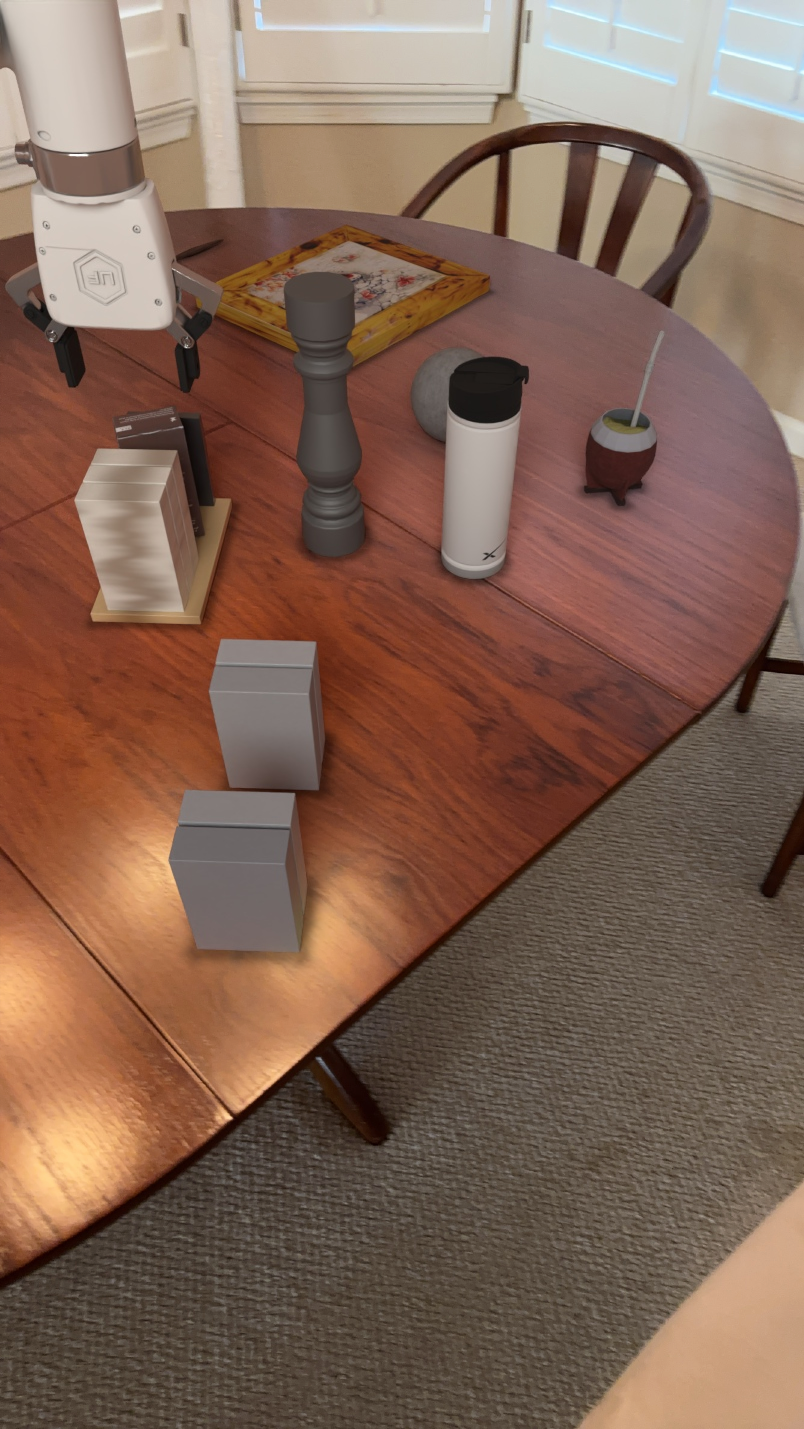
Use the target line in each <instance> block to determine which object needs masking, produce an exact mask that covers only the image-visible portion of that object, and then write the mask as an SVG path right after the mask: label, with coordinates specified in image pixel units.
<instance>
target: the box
mask: <svg viewBox="0 0 804 1429" xmlns="http://www.w3.org/2000/svg"><path fill="white" fill-rule="evenodd" d="M178 412H179V411H178V410H177V407H176V405H170V406H166V407H160V408H156V409H150V410H144V411H143V410H142V411H141V412H138V413H132V414H127V413H126V414H127V415H126V414H122V415H116V416H112V418H111V419H112V424H113V425H112V426H113V429H114V433H115V439H116V443H117V446H118V449H142V450H177V451H178V456H179V461H180V466H181V471H182V476H183V481H184V486H185V491H186V496H187V501H188V506H189V511H190V516H191V521H192V526H193V531H194V536H195V537H198V536H204V535H205V533H204V527H203V522H202V517H201V512H200V507H199V502H198V497H197V492H196V487H195V482H194V477H193V472H192V468H191V463H190V458H189V453H188V448H187V442H186V437H185V432H184V427H183V425H182V422H181V420H180V417H179V414H178Z"/></svg>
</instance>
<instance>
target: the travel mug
mask: <svg viewBox="0 0 804 1429" xmlns="http://www.w3.org/2000/svg"><path fill="white" fill-rule="evenodd" d="M529 380H530V368H529V366H528V365H522V364H521V363H520V362H518V361H517V360H514V359H512V358H508V357H504V356H493V355H492V356H484V357H481V358H476V359H472V360H469V361H466V362H464V363H462V364H460V365H458V366H457V367H456V368H455V369H454V373H452V374H451V376H450V379H449V398H448V406H447V409H448V410H447V429H446V442H445V456H444V480H443V481H444V482H443V502H442V503H443V504H442V525H441V546H440V559H441V563H442V565H443V567H444V568H445V569H446V570H447V571H448V572H449V573H450V574H452V575H455V576H457V577H460V578H462V579H468V580H481V579H486V578H489V577H493V576H494V575H495V574H498V573H499V571H501V570H502V568H503V567H504V565H505V563H506V555H507V547H508V546H507V545H508V536H509V527H510V517H511V510H512V509H511V508H512V500H513V499H512V498H513V492H514V491H513V490H514V489H513V488H514V480H515V473H516V472H515V471H516V464H517V463H516V462H517V454H518V444H519V442H518V441H519V435H520V434H519V433H520V425H521V412H522V398H523V384H524V385H527V384H528V383H529Z"/></svg>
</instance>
